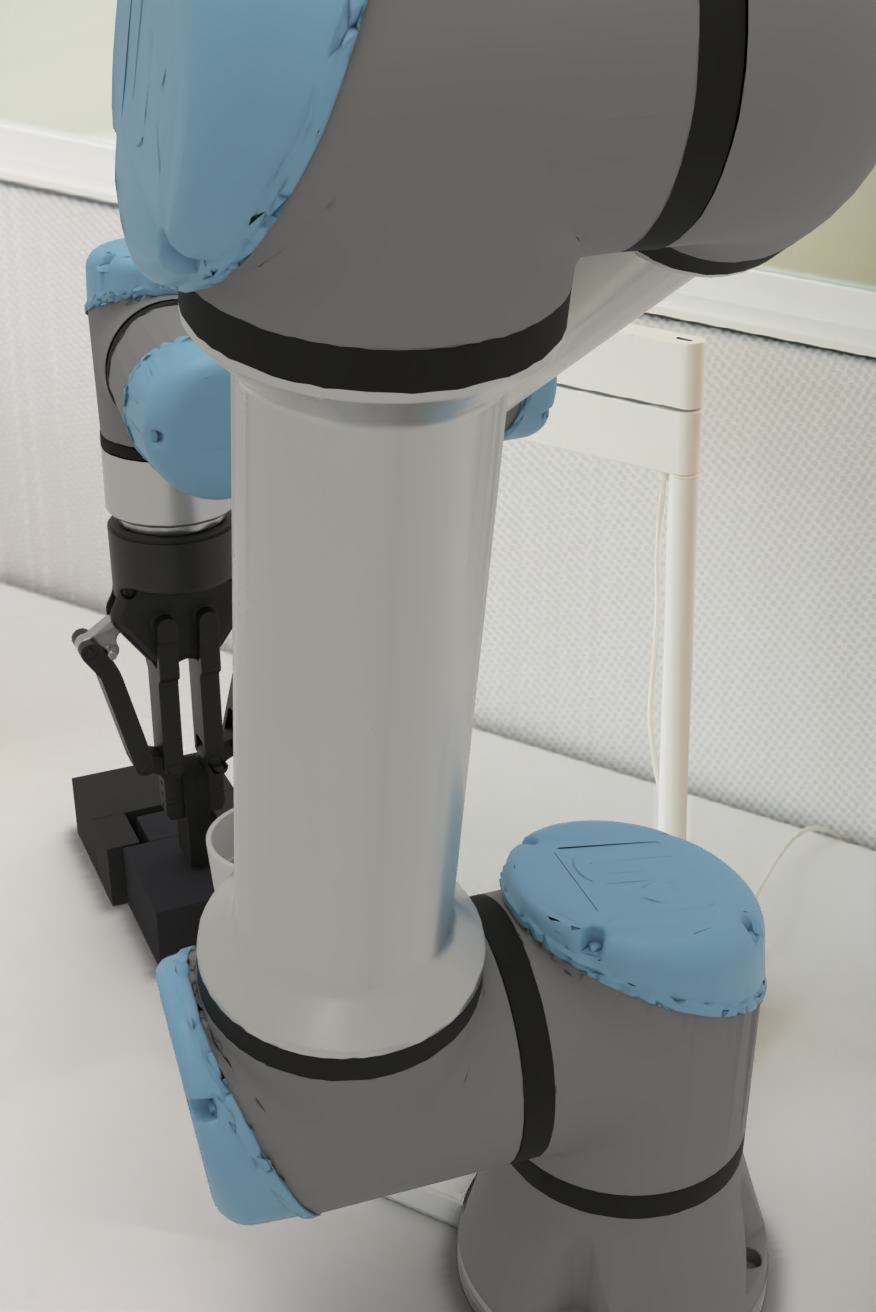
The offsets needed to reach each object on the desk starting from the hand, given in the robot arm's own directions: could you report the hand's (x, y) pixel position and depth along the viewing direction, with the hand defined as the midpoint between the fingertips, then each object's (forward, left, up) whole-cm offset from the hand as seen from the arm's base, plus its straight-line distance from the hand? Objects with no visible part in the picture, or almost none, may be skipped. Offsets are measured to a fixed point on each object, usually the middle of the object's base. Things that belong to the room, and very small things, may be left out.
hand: (196, 853), depth 105 cm
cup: (-10, -2, -5) cm, 12 cm away
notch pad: (+9, 0, -5) cm, 10 cm away
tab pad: (+1, 0, -5) cm, 5 cm away
